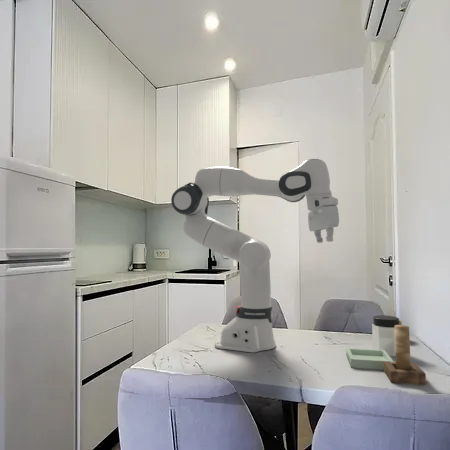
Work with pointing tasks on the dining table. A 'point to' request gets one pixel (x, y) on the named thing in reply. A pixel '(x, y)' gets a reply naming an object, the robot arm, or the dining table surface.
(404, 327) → the dowel
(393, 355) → the jar
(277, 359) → the dining table surface
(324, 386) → the dining table surface
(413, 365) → the socket block
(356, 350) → the tray
